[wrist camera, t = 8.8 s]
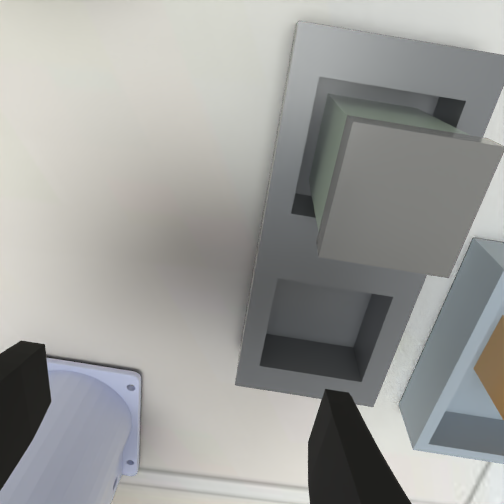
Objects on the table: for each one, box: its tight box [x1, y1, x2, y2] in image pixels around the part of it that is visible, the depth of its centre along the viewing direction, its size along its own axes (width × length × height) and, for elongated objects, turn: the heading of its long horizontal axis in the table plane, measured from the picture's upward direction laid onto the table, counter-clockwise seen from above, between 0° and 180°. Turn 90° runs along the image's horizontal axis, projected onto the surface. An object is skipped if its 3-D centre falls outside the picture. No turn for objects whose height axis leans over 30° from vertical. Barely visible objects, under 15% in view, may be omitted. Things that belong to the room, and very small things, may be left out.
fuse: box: [309, 94, 504, 278], centre depth 14 cm, size 4×4×7 cm
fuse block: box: [235, 21, 504, 407], centre depth 18 cm, size 16×7×3 cm, turn 172°
